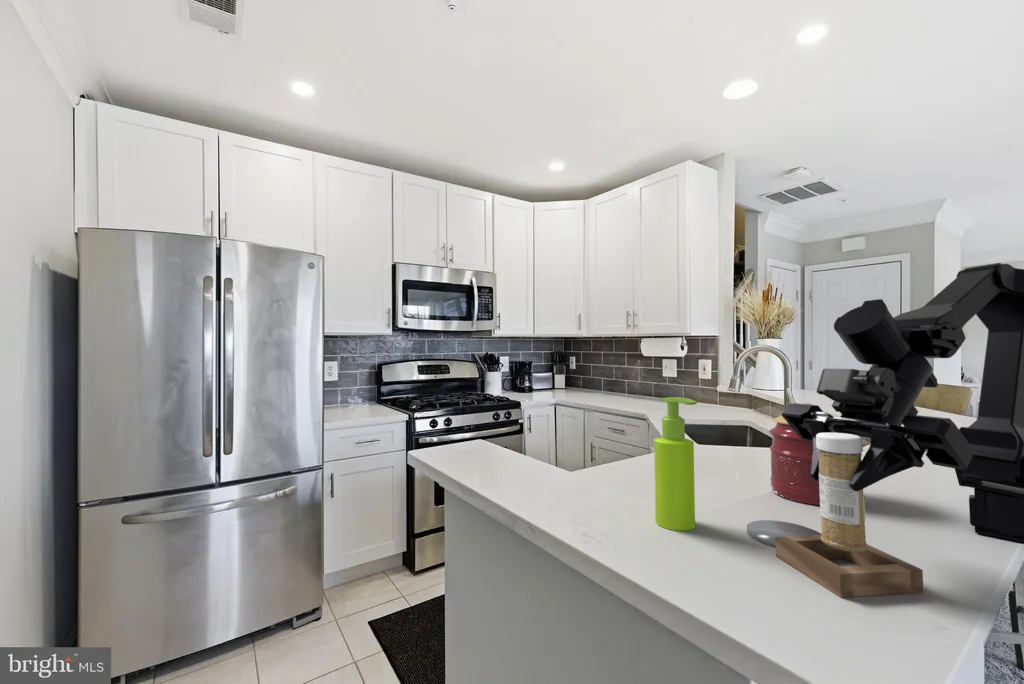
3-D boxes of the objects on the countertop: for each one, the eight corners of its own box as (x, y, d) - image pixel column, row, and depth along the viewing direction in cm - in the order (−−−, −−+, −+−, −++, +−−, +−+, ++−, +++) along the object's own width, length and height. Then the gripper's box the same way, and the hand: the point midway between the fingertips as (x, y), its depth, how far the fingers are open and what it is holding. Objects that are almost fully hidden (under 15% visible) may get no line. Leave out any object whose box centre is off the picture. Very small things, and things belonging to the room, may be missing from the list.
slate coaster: (835, 537, 63) (835, 533, 63) (817, 559, 56) (817, 554, 56) (759, 519, 70) (759, 515, 70) (736, 536, 63) (736, 532, 63)
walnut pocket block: (845, 552, 58) (844, 533, 58) (923, 592, 48) (922, 569, 48) (775, 556, 57) (775, 536, 57) (840, 597, 47) (840, 574, 47)
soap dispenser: (682, 536, 63) (679, 399, 64) (647, 520, 69) (645, 396, 70) (709, 528, 66) (706, 398, 67) (673, 514, 72) (671, 395, 73)
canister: (773, 482, 91) (771, 399, 92) (851, 493, 83) (848, 402, 84) (767, 498, 80) (765, 404, 81) (856, 512, 73) (852, 408, 74)
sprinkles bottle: (873, 547, 52) (868, 435, 52) (858, 557, 49) (853, 439, 50) (829, 534, 56) (824, 430, 56) (813, 543, 53) (809, 433, 54)
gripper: (788, 348, 63) (732, 428, 60) (950, 343, 46) (886, 456, 42) (828, 399, 66) (777, 479, 62) (998, 413, 48) (941, 527, 44)
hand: (832, 483), depth 52 cm, fingers closed on sprinkles bottle, 4 cm apart
